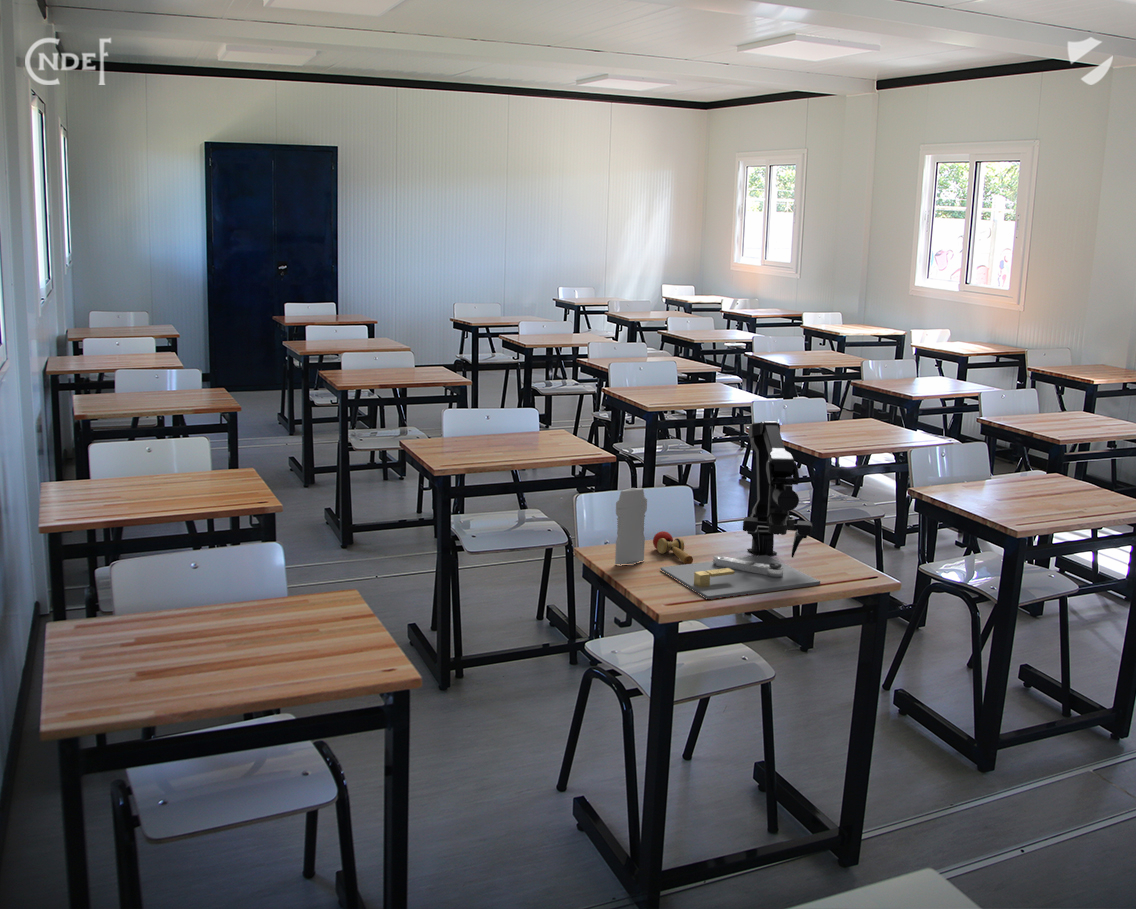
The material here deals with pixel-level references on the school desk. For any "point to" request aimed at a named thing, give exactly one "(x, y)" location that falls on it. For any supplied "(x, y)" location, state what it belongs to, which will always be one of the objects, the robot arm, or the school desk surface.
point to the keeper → (704, 577)
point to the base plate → (740, 579)
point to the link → (748, 566)
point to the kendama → (671, 546)
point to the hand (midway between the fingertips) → (775, 555)
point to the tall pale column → (630, 526)
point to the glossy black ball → (775, 565)
